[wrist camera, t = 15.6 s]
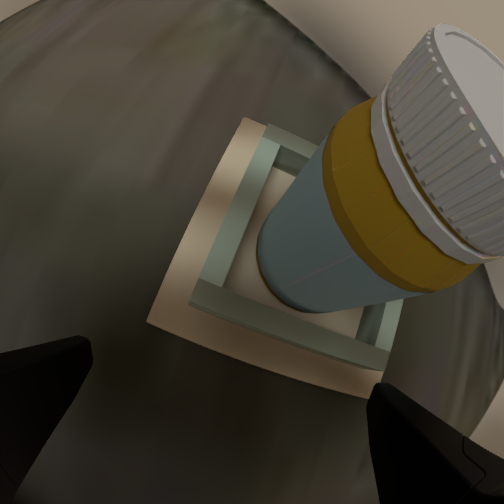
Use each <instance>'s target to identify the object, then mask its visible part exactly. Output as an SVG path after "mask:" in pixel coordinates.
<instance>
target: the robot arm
mask: <svg viewBox="0 0 504 504" xmlns="http://www.w3.org/2000/svg"><path fill="white" fill-rule="evenodd" d="M92 364H93V357H92V350H91V343H90V340H89V339H88V338H86V337H83V336H80V335H77V336H73V337H69V338H65V339H60V340H56V341H52V342H48V343H44V344H39V345H35V346H31V347H26V348H22V349H18V350H13V351H9V352H4V353H0V504H10V502H11V500H12V499H13V497H14V495H15V493H16V492H17V490H18V489H17V488H19V486H20V484H21V483H22V481H23V479H24V478H25V476H26V474H27V473H28V471H29V469H30V468H31V466H32V464H33V463H34V461H35V459H36V458H37V456H38V454H39V453H40V451H41V450H42V448H43V446H44V445H45V443H46V442H47V440H48V439H49V437H50V435H51V434H52V432H53V431H54V429H55V428H56V426H57V425H58V423H59V421H60V420H61V418H62V417H63V415H64V414H65V412H66V411H67V409H68V408H69V406H70V405H71V403H72V402H73V400H74V399H75V397H76V395H77V393H78V391H79V389H80V387H81V386H82V384H83V382H84V380H85V378H86V376H87V374H88V372H89V370H90V369H91V367H92ZM366 412H367V422H368V434H369V446H370V453H371V458H372V463H373V468H374V474H375V479H376V484H377V490H378V496H379V501H380V504H504V459H502V458H500V457H499V456H497V455H495V454H493V453H491V452H490V451H488V450H486V449H484V448H483V447H481V446H480V445H478V444H476V443H475V442H473V441H472V440H470V439H469V438H467V437H466V436H463V434H461V433H460V432H458V431H457V430H456V429H454V428H453V427H451V426H450V425H448V424H447V423H445V422H444V421H442V420H441V419H439V418H438V417H437V416H435V415H434V414H432V413H431V412H429V411H428V410H426V409H425V408H424V407H422V406H421V405H419V404H418V403H416V402H415V401H414V400H412V399H411V398H409V397H408V396H407V395H405V394H404V393H402V392H401V391H399V390H398V389H397V388H395V387H394V386H392V385H391V384H390V383H387V382H377V383H376V384H375V385H374V387H373V389H372V392H371V395H370V397H369V400H368V402H367V407H366Z"/></svg>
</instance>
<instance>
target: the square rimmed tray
mask: <svg viewBox="0 0 504 504" xmlns="http://www.w3.org/2000/svg"><path fill="white" fill-rule="evenodd" d="M318 147H319V146H317V145H315V144H313V143H310V142H308V141H306V140H304V139H302V138H300V137H298V136H296V135H294V134H292V133H289V132H287V131H285V130H283V129H281V128H278V127H276V126H274V125H272V124H269V123H268V125H267V126H265V125H262V124H260V123H258V122H255V121H253V120H251V119H248V118H246V117H244V118H243V120H242V122H241V124H240V125H239V127H238V129H237V131H236V133H235V135H234V136H233V138H232V140H231V142H230V144H229V146H228V148H227V150H226V151H225V153H224V155H223V157H222V159H221V161H220V163H219V165H218V167H217V169H216V171H215V173H214V175H213V177H212V178H211V180H210V182H209V184H208V186H207V188H206V190H205V192H204V194H203V196H202V198H201V200H200V203H199V205H198V207H197V209H196V211H195V213H194V215H193V217H192V219H191V221H190V223H189V225H188V227H187V230H186V232H185V234H184V236H183V238H182V240H181V242H180V245H179V247H178V249H177V251H176V253H175V255H174V258H173V260H172V262H171V264H170V267H169V269H168V271H167V273H166V276H165V278H164V280H163V283H162V285H161V287H160V289H159V292H158V294H157V296H156V299H155V301H154V304H153V306H152V308H151V311H150V313H149V316H148V318H147V320H146V322H148V323H150V324H152V325H154V326H157V327H159V328H161V329H163V330H166V331H168V332H170V333H173V334H175V335H177V336H180V337H182V338H184V339H187V340H189V341H192V342H194V343H197V344H199V345H202V346H204V347H207V348H209V349H212V350H214V351H217V352H219V353H222V354H225V355H227V356H230V357H233V358H235V359H238V360H241V361H244V362H246V363H249V364H252V365H255V366H258V367H261V368H264V369H267V370H270V371H273V372H276V373H279V374H282V375H285V376H288V377H291V378H294V379H297V380H301V381H304V382H307V383H311V384H314V385H317V386H321V387H324V388H328V389H332V390H335V391H339V392H343V393H346V394H350V395H354V396H358V397H362V398H366V399H369V397H370V395H371V392H372V389H373V387H374V385H375V384H376V383H377V382H381V379H382V376H383V372H385V368H386V365H387V362H388V358H389V355H390V351H391V348H392V344H393V340H394V337H395V333H396V329H397V325H398V321H399V317H400V312H401V308H402V304H403V299H399V300H395V301H390V302H385V303H379V304H374V305H369V306H364V307H358V308H352V309H347V310H341V311H335V312H329V313H318V314H315V313H303V312H299V311H297V310H295V309H293V308H290V307H288V306H286V305H285V304H283V303H282V302H281V301H280V300H278V299H277V298H276V297H275V296H274V295H273V294H272V293H271V292H270V291H269V289H268V288H267V286H266V284H265V283H264V281H263V279H262V277H261V275H260V273H259V269H258V264H257V260H256V244H257V237H258V234H259V232H260V229H261V227H262V225H263V223H264V221H265V219H266V218H267V216H268V215H269V214H270V212H271V211H272V209H273V208H274V207H275V205H276V204H277V203H278V201H279V200H280V199H281V197H282V196H283V194H284V193H285V192H286V190H287V189H288V188H289V186H290V185H291V184H292V182H293V181H294V179H295V178H296V177H297V175H298V174H299V173H300V171H301V170H302V169H303V167H304V166H305V165H306V163H307V162H308V160H309V159H310V158H311V156H312V155H313V154H314V152H315V151H316V150H317V148H318Z"/></svg>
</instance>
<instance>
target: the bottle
mask: <svg viewBox="0 0 504 504" xmlns="http://www.w3.org/2000/svg"><path fill="white" fill-rule="evenodd" d="M502 256H504V63H503V62H502V61H501V60H500V59H499V58H498V57H497V56H496V55H495V54H494V53H492V51H490V50H489V49H488V48H487V47H486V46H484V45H483V44H482V43H481V42H479V41H478V40H477V39H475V38H474V37H472V36H471V35H469V34H468V33H466V32H464V31H463V30H461V29H459V28H457V27H454V26H452V25H448V24H439V25H437V26H436V27H435V28H432V29H430V30H429V31H428V32H427V33H426V34H425V35H424V37H423V38H422V39H421V40H420V42H419V43H418V44H417V45H416V46H415V48H414V49H413V50H412V51H411V53H410V54H409V55H408V56H407V57H406V59H405V60H404V61H403V62H402V64H401V65H400V66H399V67H398V69H397V70H396V71H395V72H394V74H393V75H392V79H390V80H388V82H387V83H386V84H385V85H384V87H383V88H382V89H381V90H380V91H379V93H378V95H377V96H375V97H373V98H371V99H369V100H367V101H365V102H363V103H361V104H359V105H357V106H355V107H353V108H351V109H350V110H349V111H348V112H347V113H346V114H345V115H344V116H343V117H342V118H341V119H340V120H339V121H338V123H337V124H336V125H335V126H334V127H333V128H332V129H331V131H330V132H329V133H328V135H327V136H326V138H325V139H324V140H323V142H322V143H321V144H320V146H319V147H318V148H317V150H316V151H315V152H314V154H313V155H312V156H311V158H310V159H309V160H308V162H307V163H306V165H305V166H304V167H303V169H302V170H301V171H300V173H299V174H298V175H297V177H296V178H295V179H294V181H293V182H292V184H291V185H290V186H289V188H288V189H287V190H286V192H285V193H284V194H283V196H282V197H281V199H280V200H279V201H278V203H277V204H276V205H275V207H274V208H273V209H272V211H271V212H270V214H269V215H268V216H267V218H266V219H265V221H264V223H263V225H262V227H261V229H260V232H259V234H258V237H257V244H256V260H257V264H258V269H259V273H260V275H261V277H262V279H263V281H264V283H265V284H266V286H267V288H268V289H269V291H270V292H271V293H272V294H273V295H274V296H275V297H276V298H277V299H278V300H280V301H281V302H282V303H283V304H285V305H286V306H288V307H290V308H293V309H295V310H297V311H299V312H303V313H315V314H318V313H329V312H335V311H341V310H347V309H352V308H358V307H364V306H369V305H374V304H379V303H385V302H390V301H395V300H399V299H404V298H409V297H414V296H418V295H423V294H427V293H432V292H435V291H437V290H441V289H445V288H447V287H450V286H452V285H454V284H457V283H459V282H460V281H462V280H463V279H464V278H465V277H466V276H468V275H469V274H470V273H471V272H472V271H473V270H474V269H475V268H477V267H478V266H479V265H480V264H481V263H487V262H490V261H492V260H496V259H499V258H501V257H502Z"/></svg>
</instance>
